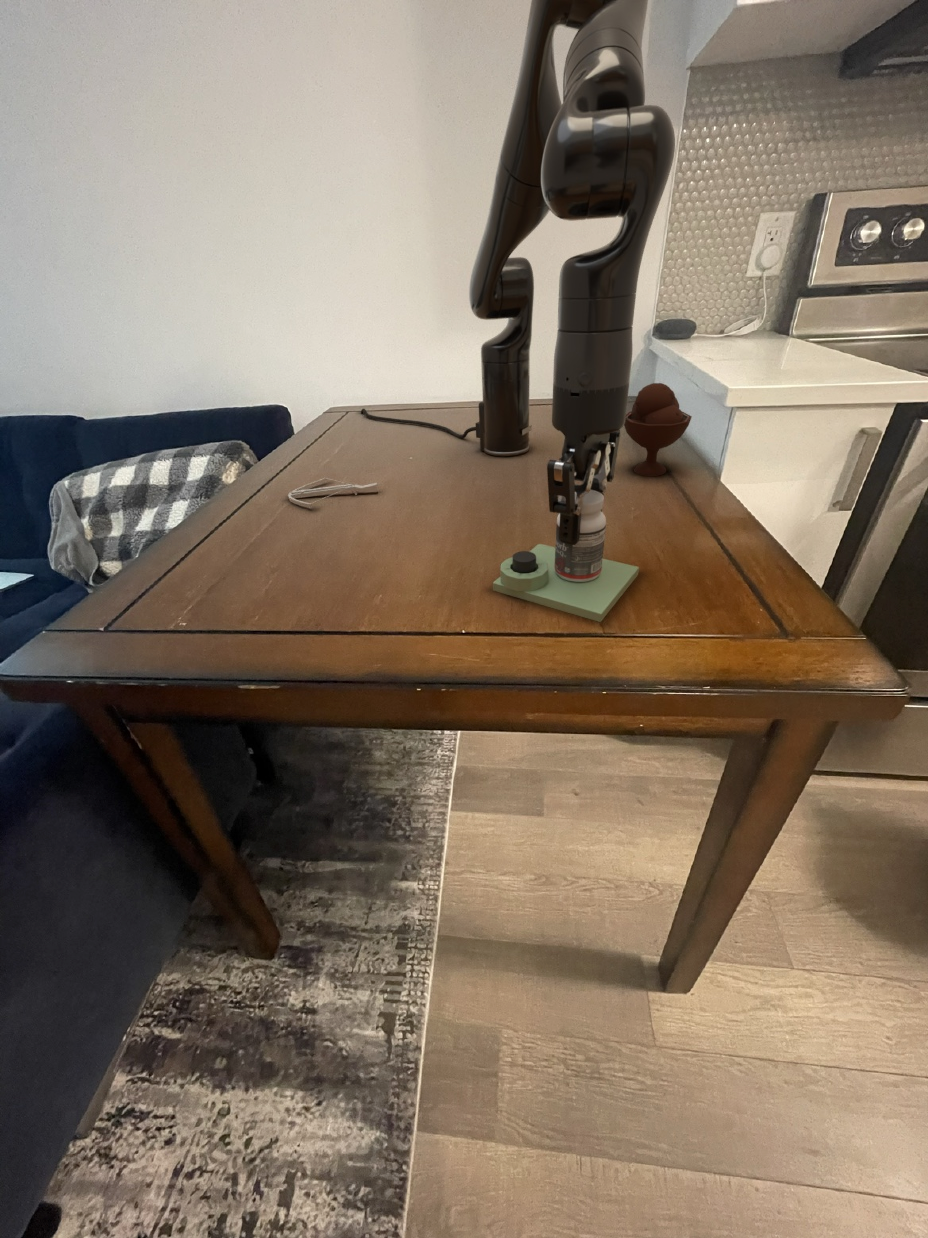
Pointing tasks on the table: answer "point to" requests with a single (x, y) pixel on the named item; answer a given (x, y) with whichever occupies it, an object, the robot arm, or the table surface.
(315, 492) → the crossbow
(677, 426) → the ice cream bowl
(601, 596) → the scale
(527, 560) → the button
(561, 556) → the pill bottle
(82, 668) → the table surface
